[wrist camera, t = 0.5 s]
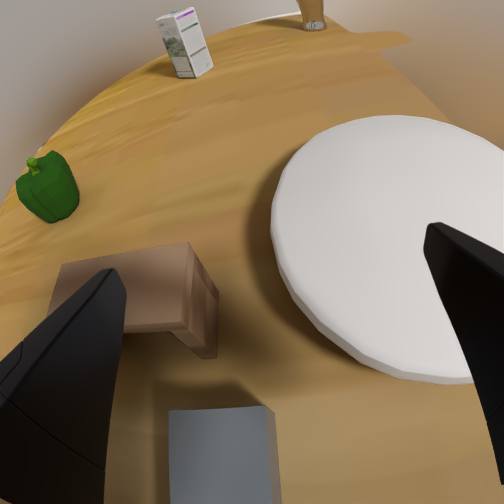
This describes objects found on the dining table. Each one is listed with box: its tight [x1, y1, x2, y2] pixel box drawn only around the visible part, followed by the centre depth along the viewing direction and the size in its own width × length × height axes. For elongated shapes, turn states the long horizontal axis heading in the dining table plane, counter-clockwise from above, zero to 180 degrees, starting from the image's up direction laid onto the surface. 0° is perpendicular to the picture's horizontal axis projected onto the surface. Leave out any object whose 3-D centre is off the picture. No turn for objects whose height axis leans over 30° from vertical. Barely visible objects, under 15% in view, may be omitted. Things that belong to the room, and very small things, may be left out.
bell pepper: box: [16, 150, 79, 223], centre depth 36 cm, size 8×8×10 cm
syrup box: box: [156, 7, 213, 78], centre depth 52 cm, size 6×6×14 cm
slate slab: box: [169, 405, 282, 504], centre depth 15 cm, size 12×6×4 cm, turn 4°
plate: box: [270, 115, 504, 385], centre depth 23 cm, size 28×6×27 cm
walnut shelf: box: [46, 242, 219, 359], centre depth 23 cm, size 6×11×7 cm, turn 92°
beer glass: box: [296, 0, 327, 31], centre depth 58 cm, size 7×7×15 cm
